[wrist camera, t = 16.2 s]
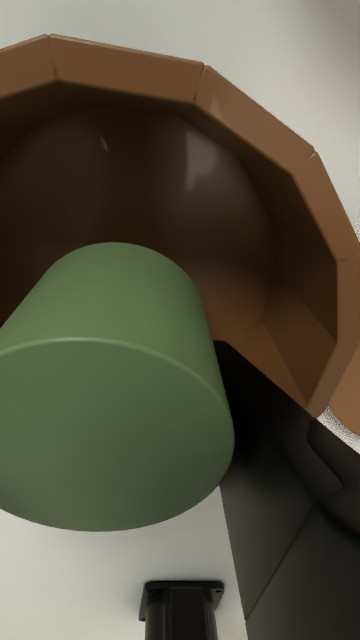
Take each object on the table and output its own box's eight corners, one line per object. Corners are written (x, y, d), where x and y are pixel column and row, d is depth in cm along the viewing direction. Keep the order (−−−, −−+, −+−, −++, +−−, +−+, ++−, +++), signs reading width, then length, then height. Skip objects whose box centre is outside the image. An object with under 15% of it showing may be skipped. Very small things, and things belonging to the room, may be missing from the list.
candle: (191, 393, 11) (207, 535, 7) (39, 383, 11) (-31, 531, 7) (220, 253, 9) (270, 354, 5) (24, 229, 8) (-102, 322, 4)
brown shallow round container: (244, 400, 16) (277, 508, 12) (-11, 383, 15) (-88, 497, 10) (335, 120, 10) (477, 113, 6) (-78, 48, 9) (-336, -41, 4)
